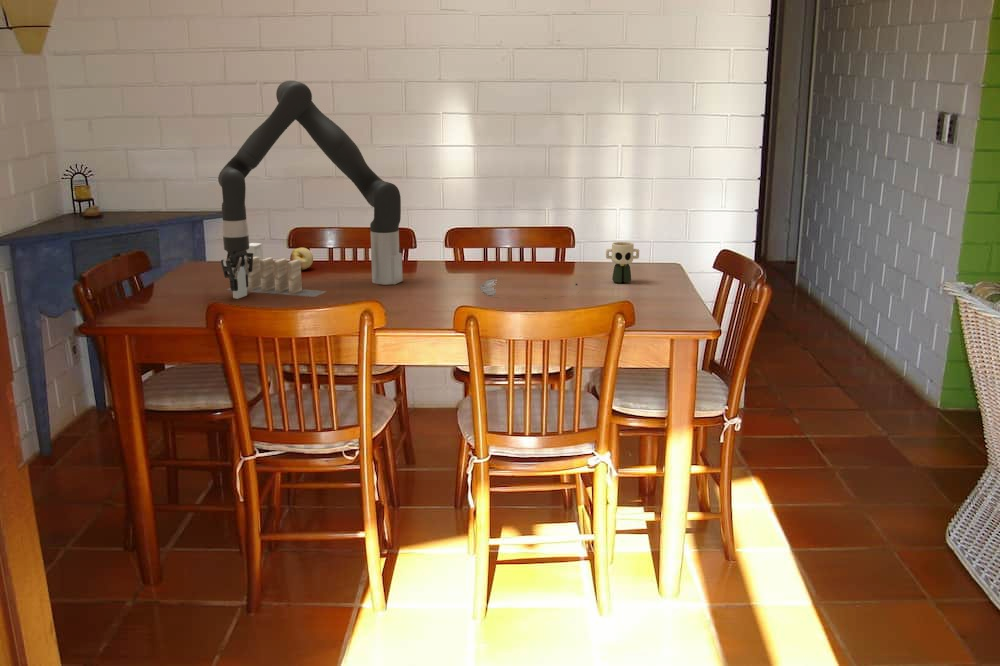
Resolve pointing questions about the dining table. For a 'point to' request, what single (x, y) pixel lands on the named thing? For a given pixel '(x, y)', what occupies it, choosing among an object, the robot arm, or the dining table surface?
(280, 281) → the domino
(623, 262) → the character mug
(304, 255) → the fruit
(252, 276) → the domino
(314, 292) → the mat
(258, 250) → the skincare box
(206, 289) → the dining table surface
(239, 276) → the domino
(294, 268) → the domino
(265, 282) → the domino
